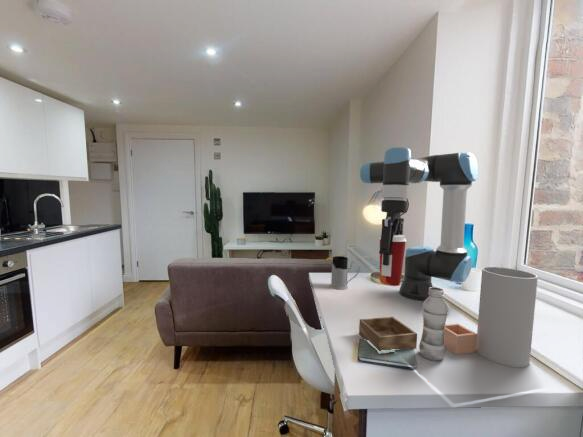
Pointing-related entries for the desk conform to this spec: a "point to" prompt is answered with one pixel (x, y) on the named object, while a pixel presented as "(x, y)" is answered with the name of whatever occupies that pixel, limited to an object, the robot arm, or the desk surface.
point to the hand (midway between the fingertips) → (390, 273)
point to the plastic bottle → (433, 325)
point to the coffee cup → (395, 261)
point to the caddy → (387, 333)
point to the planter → (459, 339)
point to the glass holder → (340, 273)
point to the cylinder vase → (506, 315)
